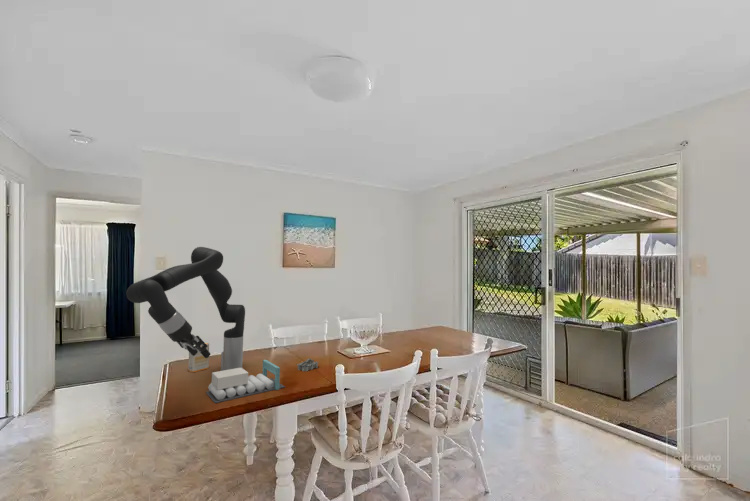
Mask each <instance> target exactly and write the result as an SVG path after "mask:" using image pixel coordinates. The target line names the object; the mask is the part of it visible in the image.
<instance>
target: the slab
mask: <svg viewBox="0 0 750 501" xmlns="http://www.w3.org/2000/svg"><path fill="white" fill-rule="evenodd" d="M248 377H249V372H248V371H247V370H245V369H244V368H243V367H242V368H235V369H229V370H224V371H221V370H220V371H214V372H211V383H212V384H213V385H214V386H215V388H216V389H217V390H219V389H224V388H229V387H234V386H238V385H243V384H248Z"/></svg>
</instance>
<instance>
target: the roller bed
mask: <svg viewBox="0 0 750 501" xmlns="http://www.w3.org/2000/svg"><path fill="white" fill-rule="evenodd" d="M284 388H286V386H285V385H283V384H282V383H280V382H279V390H280V389H284ZM271 391H276V390H275V378H269V377H268V376H267V377H266V376H264V375H263V373H258V374H256V376H255V375H253V374H250V375H248V384H243V385H238V386H234V387H229V388H224V389H219V390H217V389H216V388H215V386H214V385H213V384H212V382H211V383H209V385H208V390H207V391H205V394H206V395H207V396H208V397H209V398H210V400H211V401H212V402H213V403H214V404H219V403H223V402H227V401H231V400H237V399H241V398H245V397H250V396H253V395H258V394H262V393H266V392H271Z"/></svg>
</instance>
